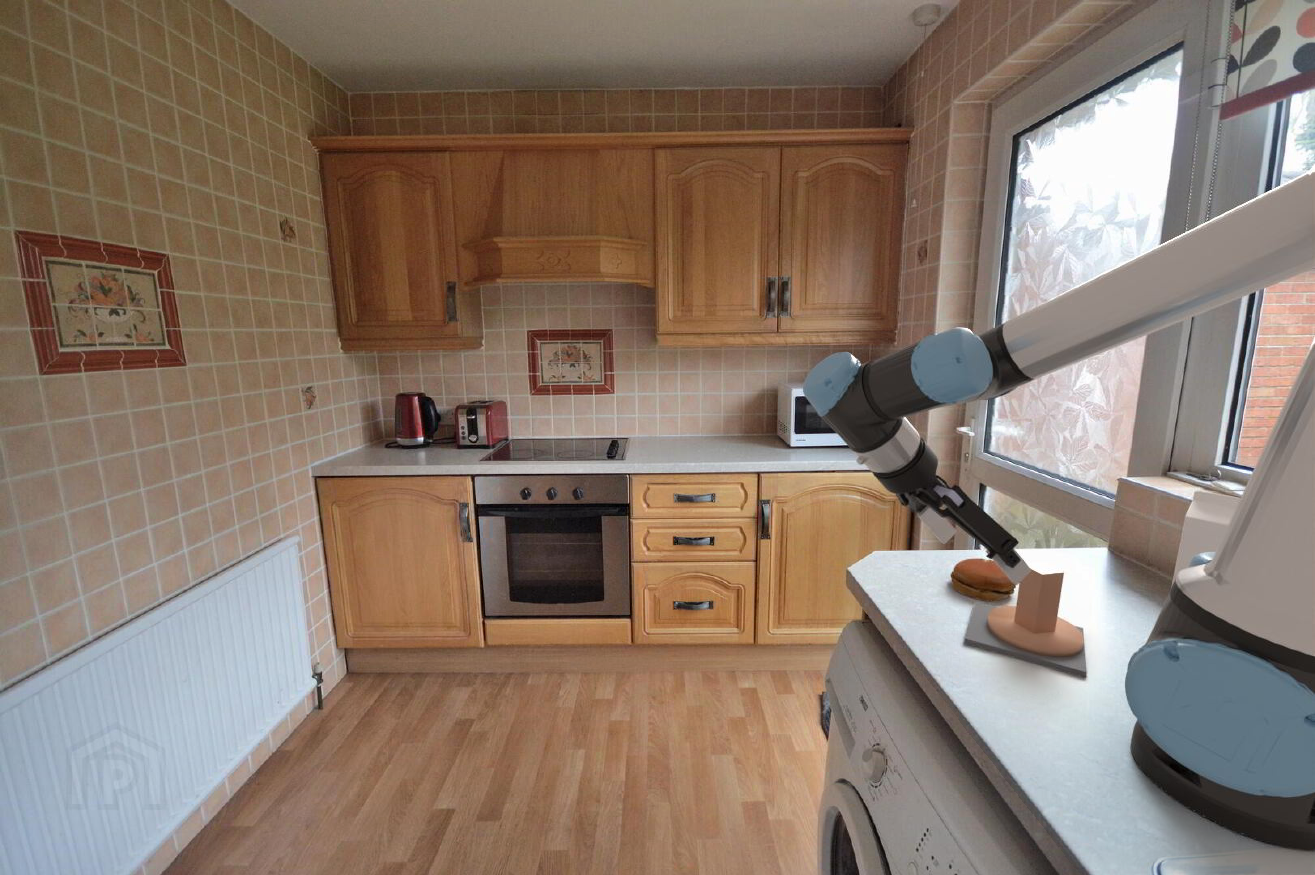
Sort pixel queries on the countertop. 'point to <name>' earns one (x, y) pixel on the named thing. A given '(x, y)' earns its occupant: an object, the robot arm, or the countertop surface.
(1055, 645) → the lid
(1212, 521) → the milk
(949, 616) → the countertop surface
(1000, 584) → the burger
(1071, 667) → the mat
